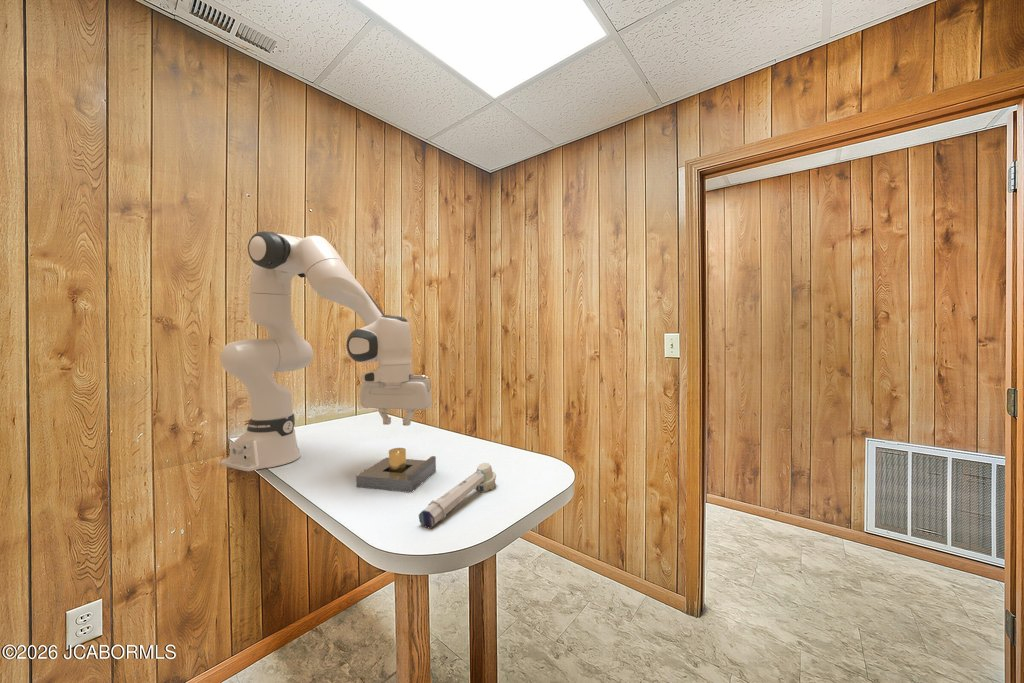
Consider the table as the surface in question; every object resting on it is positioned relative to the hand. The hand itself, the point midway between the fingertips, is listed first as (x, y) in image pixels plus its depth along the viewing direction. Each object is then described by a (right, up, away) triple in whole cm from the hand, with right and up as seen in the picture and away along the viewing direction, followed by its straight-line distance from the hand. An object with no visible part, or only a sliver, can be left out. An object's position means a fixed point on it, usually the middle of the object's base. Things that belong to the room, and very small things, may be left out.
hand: (396, 424), depth 101 cm
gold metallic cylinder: (0, -15, 0) cm, 15 cm away
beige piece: (+20, -16, -14) cm, 29 cm away
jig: (0, -15, 0) cm, 15 cm away
